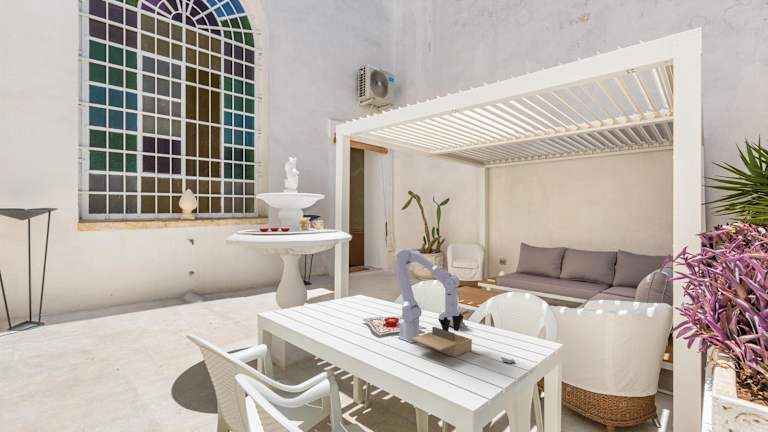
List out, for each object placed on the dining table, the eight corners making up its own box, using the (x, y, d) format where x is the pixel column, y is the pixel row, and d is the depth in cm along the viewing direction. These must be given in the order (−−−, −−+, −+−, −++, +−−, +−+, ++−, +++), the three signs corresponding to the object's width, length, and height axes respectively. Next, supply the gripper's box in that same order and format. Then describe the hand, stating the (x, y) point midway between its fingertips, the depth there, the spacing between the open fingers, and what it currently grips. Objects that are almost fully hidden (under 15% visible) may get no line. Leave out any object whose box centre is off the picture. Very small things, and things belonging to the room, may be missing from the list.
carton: (426, 346, 165) (427, 335, 165) (443, 340, 172) (444, 330, 172) (454, 357, 152) (454, 345, 152) (471, 350, 160) (471, 339, 160)
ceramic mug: (453, 329, 188) (454, 315, 188) (443, 325, 195) (443, 311, 195) (468, 326, 194) (468, 312, 194) (457, 322, 201) (457, 309, 201)
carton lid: (411, 339, 158) (411, 330, 158) (430, 333, 166) (430, 325, 166) (440, 350, 146) (440, 341, 146) (459, 343, 154) (459, 334, 154)
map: (503, 364, 146) (503, 362, 146) (496, 346, 167) (496, 344, 167) (516, 365, 146) (516, 363, 146) (508, 347, 166) (508, 345, 166)
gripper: (448, 307, 155) (447, 338, 155) (468, 301, 165) (467, 331, 165) (435, 303, 161) (435, 333, 161) (455, 299, 170) (455, 327, 170)
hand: (450, 332), depth 163 cm, fingers open, 7 cm apart
